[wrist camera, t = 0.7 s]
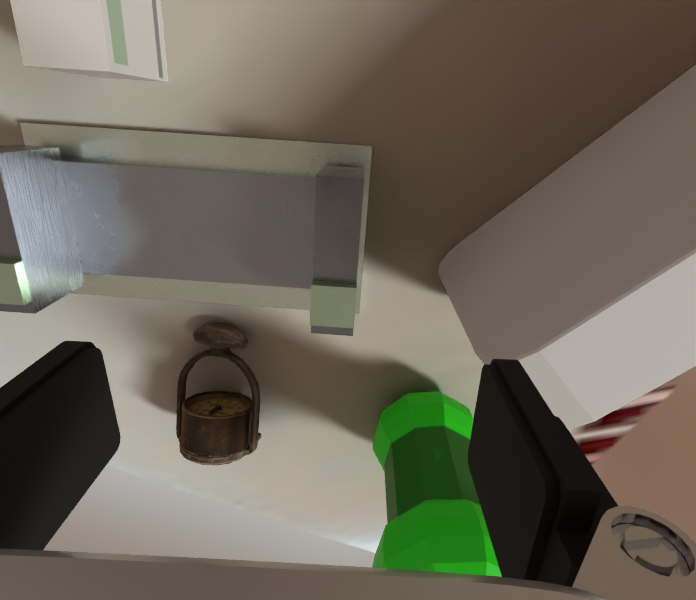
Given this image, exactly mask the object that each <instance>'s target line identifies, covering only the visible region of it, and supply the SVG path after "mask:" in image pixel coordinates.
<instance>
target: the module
mask: <svg viewBox="0 0 696 600" xmlns="http://www.w3.org/2000/svg"><path fill="white" fill-rule="evenodd" d="M10 2H11V7H12V12H13V17H14V22H15V26H16V31H17V36H18V41H19V46H20V51H21V55H22V60H23V65H24V66H28V67H34V68H41V69H48V70H54V71H61V72H68V73H74V74H81V75H87V76H94V77H101V78H115V79H130V80H145V81H160V82H168V74H167V63H166V52H165V41H164V30H163V19H162V9H161V0H10Z"/></svg>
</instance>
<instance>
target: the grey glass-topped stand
mask: <svg viewBox="0 0 696 600" xmlns="http://www.w3.org/2000/svg"><path fill="white" fill-rule="evenodd" d="M20 126H21V131H22V135H23V140H24V144H25V145H10V146H0V311H7V312H22V313H37V312H39V311H40V310H42V309H44V308H45V307H47V306H49V305H50V304H52V303H54V302H55V301H57V300H59V299H60V298H62V297H64V296H66V295H67V294H69V293H75V294H90V295H104V296H118V297H132V298H147V299H161V300H175V301H189V302H204V303H218V304H232V305H246V306H261V307H275V308H289V309H303V310H310V325H311V333H319V334H333V335H347V336H353V328H354V317H355V313H359V310H360V297H361V284H362V272H363V259H364V246H365V234H366V221H367V208H368V195H369V183H370V170H371V157H372V146H368V145H353V144H338V143H324V142H309V141H294V140H279V139H264V138H249V137H234V136H219V135H204V134H189V133H174V132H159V131H144V130H129V129H114V128H99V127H84V126H70V125H55V124H40V123H20Z"/></svg>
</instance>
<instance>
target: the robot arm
mask: <svg viewBox="0 0 696 600" xmlns="http://www.w3.org/2000/svg"><path fill="white" fill-rule="evenodd" d="M119 444H120V432H119V428H118V423H117V419H116V414H115V410H114V405H113V400H112V396H111V391H110V387H109V382H108V378H107V373H106V369H105V364H104V360H103V355H102V352H101V350H100V349H98V348H96V347H95V345H94V344H93V343H91V342H81V341H64V342H62V343H61V344H59V345H58V346H57V347H55V348H54V349H52V350H51V351H50V352H48V353H47V354H46V355H44V356H43V357H42V358H40V359H39V360H38V361H36V362H35V363H34V364H32V365H31V366H29V367H28V368H27V369H25V370H24V371H23V372H21V373H20V374H19V375H17V376H16V377H15V378H13V379H12V380H11V381H9V382H8V383H6V384H5V385H4V386H2V387H1V388H0V600H696V544H695V543H694V541H693V540H692V539H691V538H690V537H689V536H688V535H687V534H686V533H685V532H683V531H682V530H681V529H680V528H678V527H677V526H676V525H675V524H673V523H671V522H670V521H668V520H666V519H665V518H663V517H661V516H660V515H657V514H655V513H652V512H650V511H647V510H644V509H641V508H636V507H631V506H618V505H617V503H616V502H615V500H614V499H613V497H612V496H611V494H610V493H609V491H608V490H607V489H606V487H605V485H604V484H603V482H602V481H601V479H600V478H599V476H598V475H597V473H596V472H595V470H594V469H593V467H592V465H591V464H590V462H589V461H588V459H587V458H586V456H585V455H584V453H583V452H582V450H581V449H580V447H579V446H578V444H577V443H576V441H575V440H574V438H573V437H572V435H571V434H570V432H569V431H568V429H567V427H566V426H565V424H564V423H563V422H562V420H561V419H560V418H559V417H556V416H554V415H553V413H552V411H551V410H550V408H549V407H548V405H547V404H546V402H545V401H544V399H543V397H542V396H541V394H540V393H539V391H538V390H537V388H536V387H535V385H534V383H533V382H532V380H531V379H530V377H529V376H528V374H527V373H526V371H525V369H524V368H523V366H522V365H521V363H520V362H519V361H518V360H513V359H493V360H492V361H491V363H490V364H485V365H484V366H483V368H482V373H481V379H480V385H479V391H478V396H477V402H476V408H475V414H474V420H473V425H472V431H471V437H470V443H469V448H468V465H469V469H470V473H471V476H472V479H473V483H474V486H475V489H476V493H477V496H478V499H479V503H480V506H481V509H482V513H483V516H484V519H485V522H486V526H487V529H488V532H489V536H490V539H491V542H492V546H493V549H494V552H495V556H496V559H497V562H498V566H499V569H500V572H501V575H502V577H498V576H485V575H472V574H459V573H446V572H432V571H419V570H405V569H387V568H368V567H353V566H334V565H318V564H300V563H283V562H265V561H246V560H226V559H208V558H189V557H168V556H150V555H130V554H129V555H128V554H110V553H88V552H66V551H44V550H43V549H44V548H45V546H46V545H47V544H48V542H49V541H50V539H51V538H52V537H53V535H54V534H55V533H56V531H57V530H58V529H59V528H60V526H61V525H62V523H63V522H64V521H65V519H66V518H67V517H68V515H69V514H70V513H71V511H72V510H73V509H74V507H75V506H76V505H77V503H78V502H79V501H80V499H81V498H82V496H83V495H84V494H85V493H86V491H87V490H88V488H89V487H90V486H91V485H92V483H93V482H94V481H95V479H96V478H97V477H98V475H99V474H100V472H101V471H102V470H103V468H104V467H105V466H106V465H107V463H108V462H109V460H110V459H111V458H112V456H113V455H114V454H115V452H116V451H117V449H118V447H119Z"/></svg>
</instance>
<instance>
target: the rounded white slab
mask: <svg viewBox="0 0 696 600" xmlns="http://www.w3.org/2000/svg"><path fill="white" fill-rule="evenodd" d="M438 275H439V277H440V279H441V281H442V283H443V285H444V287H445V289H446V292H447V294H448V296H449V298H450V300H451V302H452V304H453V306H454V308H455V310H456V313H457V315H458V317H459V319H460V321H461V323H462V325H463V327H464V329H465V332H466V334H467V336H468V338H469V340H470V342H471V344H472V346H473V348H474V351H475V353H476V354H477V356H478V357H479V358H480V359H481V360H482V362H483V363H484V364H490V363H491V361H492V360H493V359H513V360H518V361H519V362H520V363H521V365H522V366H523V368H524V369H525V371H526V373H527V374H528V376H529V377H530V379H531V380H532V382H533V383H534V385H535V387H536V388H537V390H538V391H539V393H540V394H541V396H542V397H543V399H544V401H545V402H546V404H547V405H548V407H549V408H550V410H551V411H552V413H553V415H554V416H556V417H559V418H560V419H561V420H562V422H563V423H564V424H565V426H566V427H567V429H568V430H569V429H572V428H575V427H578V426H581V425H584V424H587V423H591V422H594V421H596V420H598V419H599V418H601V417H603V416H605V415H607V414H608V413H610V412H612V411H614V410H618V409H620V408H621V407H623V406H625V405H627V404H629V403H630V402H632V401H634V400H636V399H638V398H639V397H641V396H643V395H645V394H647V393H648V392H650V391H652V390H654V389H656V388H657V387H659V386H661V385H663V384H665V383H666V382H668V381H670V380H672V379H674V378H675V377H677V376H679V375H681V374H683V373H684V372H686V371H688V370H690V369H691V368H693V367H695V366H696V65H694V66H693V67H692V68H690V69H689V70H688V71H686V72H685V73H684V74H682V75H681V76H680V77H678V78H677V79H676V80H674V81H673V82H672V83H670V84H669V85H668V86H666V87H665V88H664V89H662V90H661V91H660V92H659V93H657V94H656V95H655V96H653V97H652V98H651V99H649V100H648V101H647V102H645V103H644V104H643V105H641V106H640V107H639V108H637V109H636V110H635V111H633V112H632V113H631V114H629V115H628V116H627V117H625V118H624V119H623V120H621V121H620V122H619V123H617V124H616V125H615V126H613V127H612V128H611V129H609V130H608V131H607V132H605V133H604V134H603V135H601V136H600V137H599V138H597V139H596V140H595V141H593V142H592V143H591V144H590V145H588V146H587V147H586V148H584V149H583V150H582V151H580V152H579V153H578V154H576V155H575V156H574V157H572V158H571V159H570V160H568V161H567V162H566V163H564V164H563V165H562V166H560V167H559V168H558V169H556V170H555V171H554V172H552V173H551V174H550V175H548V176H547V177H546V178H544V179H543V180H542V181H540V182H539V183H538V184H536V185H535V186H534V187H532V188H531V189H530V190H528V191H527V192H526V193H524V194H523V195H522V196H521V197H519V198H518V199H517V200H515V201H514V202H513V203H511V204H510V205H509V206H507V207H506V208H505V209H503V210H502V211H501V212H499V213H498V214H497V215H495V216H494V217H493V218H491V219H490V220H489V221H487V222H486V223H485V224H483V225H482V226H481V227H479V228H478V229H477V230H475V231H474V232H473V233H471V234H470V235H469V236H467V237H466V238H465V239H463V240H462V241H461V242H459V243H458V244H457V245H456V246H455V247H454V248H453V249H452V250H450V251H449V252H448V253H447V254H446V255H445V257H444V258H443V260H442V261H441V262H440V264H439V270H438Z"/></svg>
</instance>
